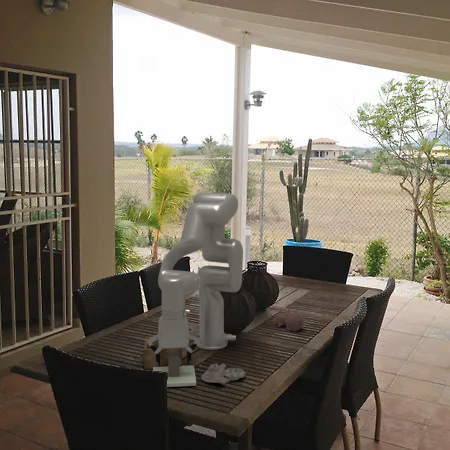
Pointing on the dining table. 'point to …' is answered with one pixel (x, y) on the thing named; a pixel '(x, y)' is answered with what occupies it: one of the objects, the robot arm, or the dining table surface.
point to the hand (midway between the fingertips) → (173, 363)
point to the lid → (178, 372)
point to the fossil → (222, 374)
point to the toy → (289, 321)
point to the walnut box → (151, 356)
